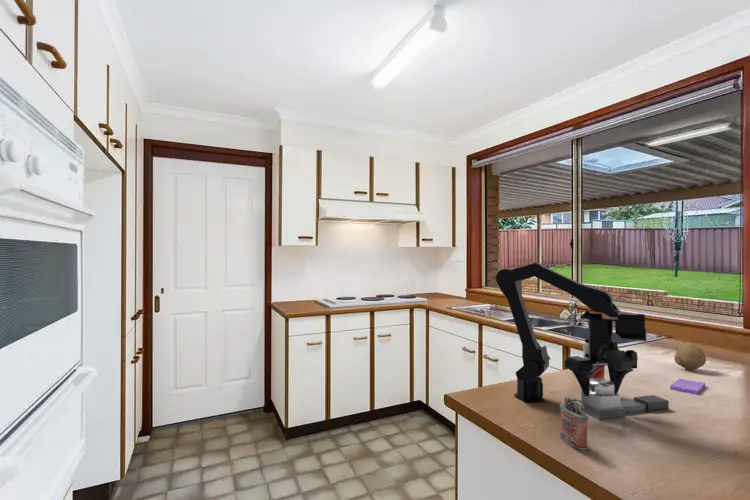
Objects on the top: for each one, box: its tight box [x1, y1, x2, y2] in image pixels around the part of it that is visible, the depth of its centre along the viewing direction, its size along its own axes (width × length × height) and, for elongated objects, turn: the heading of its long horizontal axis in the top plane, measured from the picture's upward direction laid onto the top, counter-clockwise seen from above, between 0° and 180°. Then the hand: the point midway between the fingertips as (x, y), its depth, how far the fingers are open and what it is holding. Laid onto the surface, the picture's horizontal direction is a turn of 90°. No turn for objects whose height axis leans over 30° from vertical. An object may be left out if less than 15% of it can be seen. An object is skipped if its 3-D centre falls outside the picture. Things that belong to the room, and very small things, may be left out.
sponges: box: [669, 378, 706, 396], centre depth 126 cm, size 7×13×2 cm, turn 131°
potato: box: [673, 343, 707, 372], centre depth 146 cm, size 9×9×10 cm
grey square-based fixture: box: [581, 378, 621, 410], centre depth 105 cm, size 6×6×6 cm
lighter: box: [559, 395, 589, 454], centre depth 87 cm, size 8×3×10 cm, turn 5°
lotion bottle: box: [582, 328, 606, 380], centre depth 121 cm, size 6×6×20 cm
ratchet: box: [577, 394, 670, 422], centre depth 107 cm, size 24×8×5 cm, turn 104°
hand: (601, 394), depth 105 cm, fingers open, 9 cm apart
